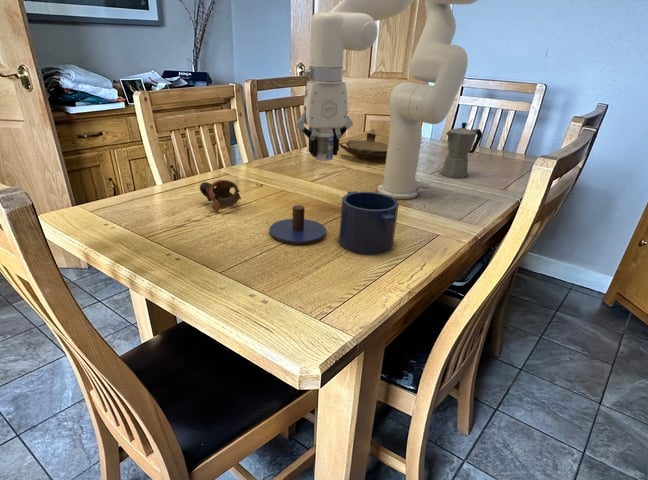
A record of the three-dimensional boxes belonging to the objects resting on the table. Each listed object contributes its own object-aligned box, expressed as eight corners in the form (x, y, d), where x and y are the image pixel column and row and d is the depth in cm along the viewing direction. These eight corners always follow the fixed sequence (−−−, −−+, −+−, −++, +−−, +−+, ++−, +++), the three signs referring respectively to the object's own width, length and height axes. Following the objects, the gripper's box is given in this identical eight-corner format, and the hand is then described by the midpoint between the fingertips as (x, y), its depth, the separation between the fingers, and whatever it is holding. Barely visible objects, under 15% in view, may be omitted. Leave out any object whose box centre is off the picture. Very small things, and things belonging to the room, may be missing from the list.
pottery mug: (245, 202, 125) (246, 183, 118) (232, 226, 120) (232, 207, 113) (206, 188, 125) (205, 167, 118) (191, 211, 121) (188, 191, 114)
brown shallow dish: (328, 158, 171) (329, 138, 167) (362, 145, 193) (363, 127, 189) (380, 168, 161) (382, 147, 157) (409, 153, 184) (412, 134, 180)
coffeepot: (447, 179, 153) (457, 125, 144) (431, 172, 161) (440, 120, 152) (481, 176, 159) (494, 124, 150) (464, 169, 166) (475, 119, 157)
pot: (370, 225, 114) (374, 186, 108) (409, 255, 100) (416, 211, 94) (326, 231, 109) (328, 190, 104) (360, 263, 95) (365, 218, 90)
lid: (313, 220, 115) (314, 195, 112) (335, 241, 104) (337, 214, 101) (262, 226, 110) (261, 200, 107) (280, 249, 99) (280, 221, 96)
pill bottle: (330, 162, 109) (332, 126, 105) (312, 160, 110) (313, 125, 106) (334, 157, 113) (335, 123, 109) (316, 155, 114) (317, 121, 110)
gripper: (295, 77, 96) (295, 160, 106) (366, 77, 101) (360, 156, 110) (286, 73, 102) (287, 152, 112) (353, 73, 107) (349, 149, 116)
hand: (323, 154), depth 111 cm, fingers closed on pill bottle, 4 cm apart
